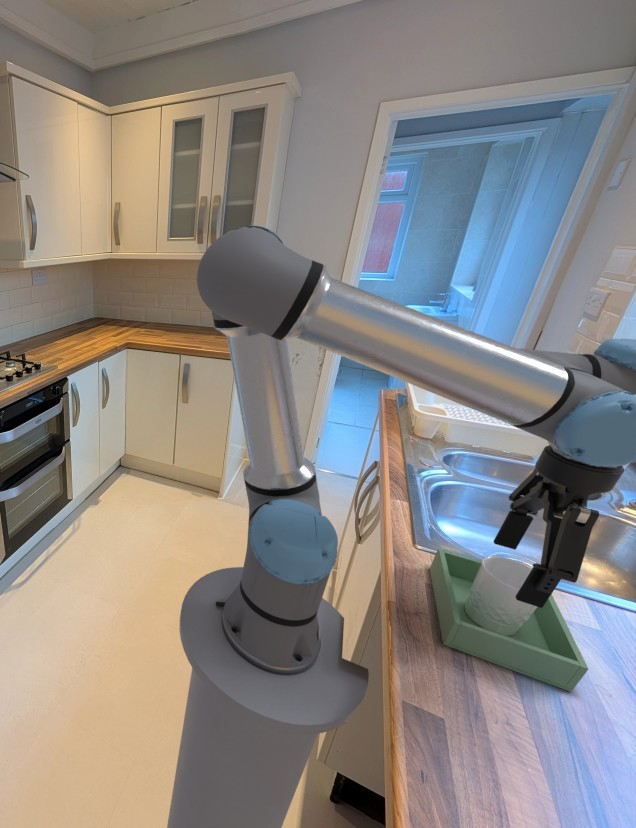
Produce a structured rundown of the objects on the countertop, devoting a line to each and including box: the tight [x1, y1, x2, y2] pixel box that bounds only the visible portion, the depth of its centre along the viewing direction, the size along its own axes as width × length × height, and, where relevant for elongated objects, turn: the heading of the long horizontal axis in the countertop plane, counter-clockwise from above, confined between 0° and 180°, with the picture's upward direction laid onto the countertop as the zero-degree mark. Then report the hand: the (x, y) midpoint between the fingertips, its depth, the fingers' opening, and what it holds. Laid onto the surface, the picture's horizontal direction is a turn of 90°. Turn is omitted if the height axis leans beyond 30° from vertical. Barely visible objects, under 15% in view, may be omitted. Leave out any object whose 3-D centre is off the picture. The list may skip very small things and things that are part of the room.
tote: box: [428, 548, 589, 693], centre depth 70 cm, size 15×19×5 cm
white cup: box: [464, 555, 537, 636], centre depth 69 cm, size 8×8×10 cm
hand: (515, 571), depth 66 cm, fingers open, 13 cm apart
